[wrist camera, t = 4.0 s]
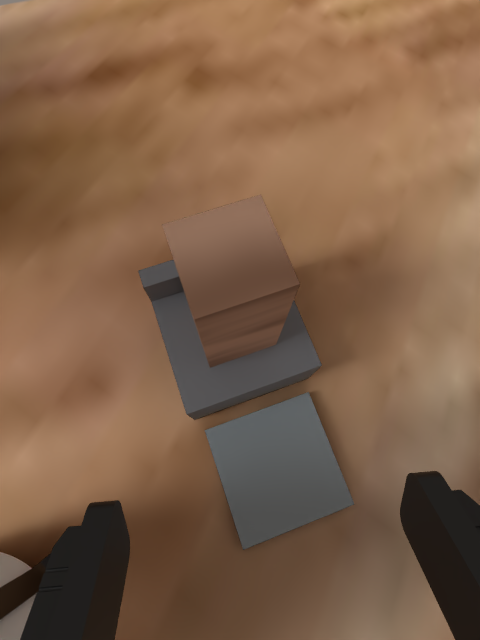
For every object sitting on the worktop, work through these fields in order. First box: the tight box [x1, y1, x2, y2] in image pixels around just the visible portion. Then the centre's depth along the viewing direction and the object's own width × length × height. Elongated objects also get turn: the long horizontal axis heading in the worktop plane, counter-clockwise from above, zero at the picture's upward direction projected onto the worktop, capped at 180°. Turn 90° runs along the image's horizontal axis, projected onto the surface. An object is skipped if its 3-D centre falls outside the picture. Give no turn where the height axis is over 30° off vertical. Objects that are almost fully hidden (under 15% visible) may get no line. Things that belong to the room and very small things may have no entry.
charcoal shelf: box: [139, 260, 322, 420], centre depth 27 cm, size 9×9×7 cm
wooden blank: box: [162, 195, 300, 368], centre depth 21 cm, size 4×4×10 cm
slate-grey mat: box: [205, 392, 354, 550], centre depth 28 cm, size 8×8×1 cm
